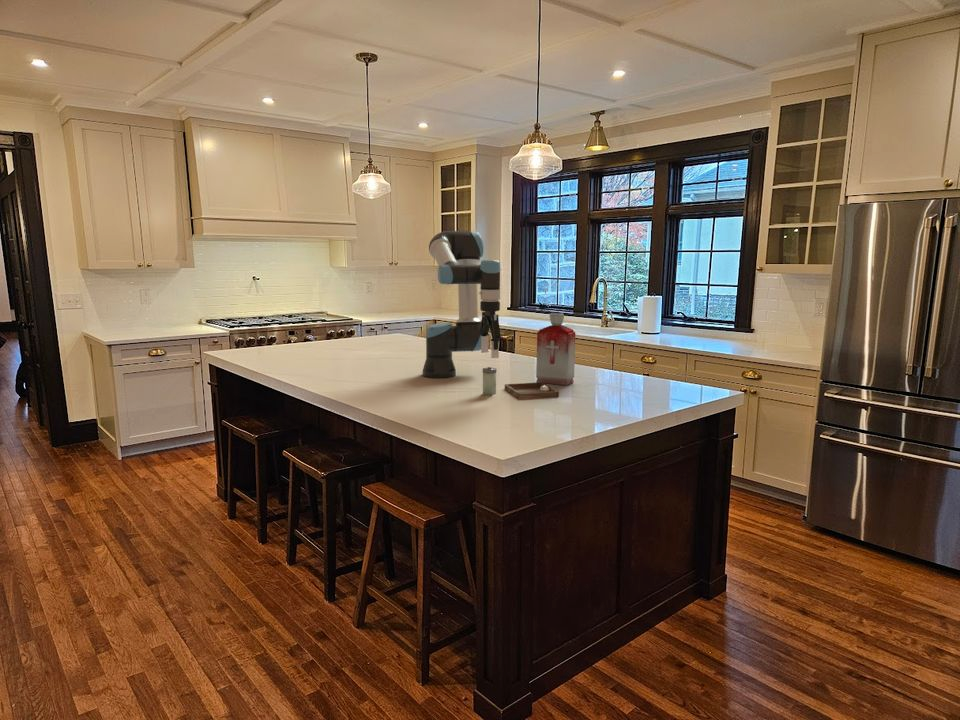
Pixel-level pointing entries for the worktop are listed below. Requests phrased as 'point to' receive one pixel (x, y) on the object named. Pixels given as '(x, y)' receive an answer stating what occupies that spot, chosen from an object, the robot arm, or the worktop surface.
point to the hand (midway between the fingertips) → (489, 355)
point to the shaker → (489, 381)
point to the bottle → (555, 353)
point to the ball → (544, 389)
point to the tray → (530, 390)
